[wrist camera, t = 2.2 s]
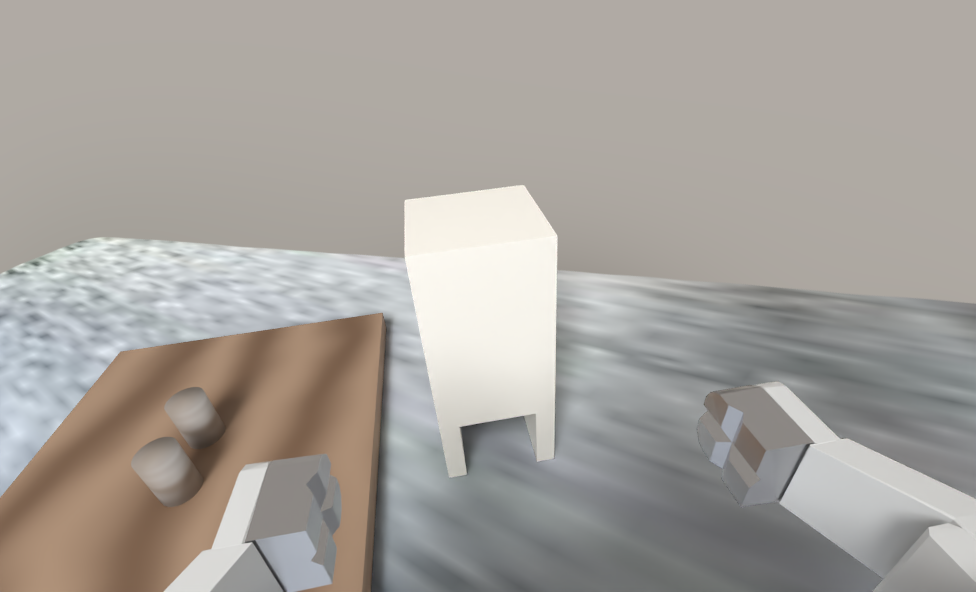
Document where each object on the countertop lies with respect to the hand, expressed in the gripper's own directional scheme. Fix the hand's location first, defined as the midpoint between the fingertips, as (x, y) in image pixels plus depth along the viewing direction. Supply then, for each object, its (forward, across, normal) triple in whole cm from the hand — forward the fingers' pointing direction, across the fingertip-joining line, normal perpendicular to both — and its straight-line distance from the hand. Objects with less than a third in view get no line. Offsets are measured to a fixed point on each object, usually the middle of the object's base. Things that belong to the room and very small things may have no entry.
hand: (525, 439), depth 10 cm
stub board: (+12, +16, +14) cm, 25 cm away
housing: (+12, -1, +14) cm, 19 cm away
